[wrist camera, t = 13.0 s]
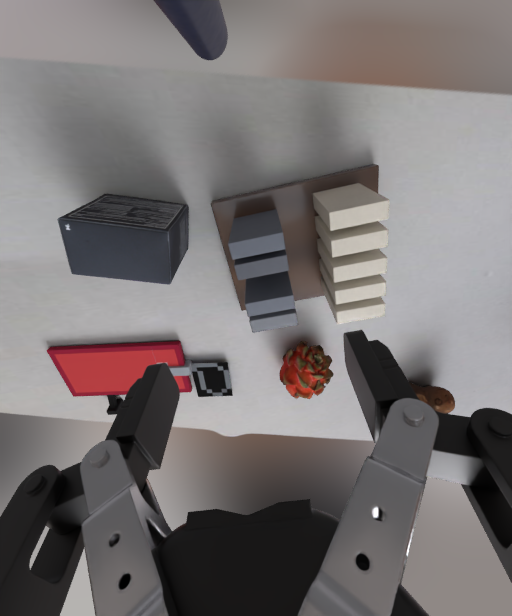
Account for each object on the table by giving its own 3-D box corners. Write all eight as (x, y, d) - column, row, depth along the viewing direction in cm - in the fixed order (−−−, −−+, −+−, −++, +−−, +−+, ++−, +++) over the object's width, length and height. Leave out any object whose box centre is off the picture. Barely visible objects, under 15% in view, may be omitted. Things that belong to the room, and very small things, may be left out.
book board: (212, 200, 36) (210, 203, 35) (374, 163, 34) (378, 165, 32) (242, 305, 44) (241, 310, 43) (372, 281, 42) (376, 286, 41)
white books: (312, 193, 34) (329, 212, 26) (359, 182, 33) (389, 199, 26) (321, 287, 41) (337, 324, 33) (360, 280, 40) (385, 316, 33)
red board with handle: (233, 398, 55) (224, 337, 48) (232, 410, 53) (222, 348, 45) (84, 403, 57) (51, 345, 49) (77, 415, 54) (41, 356, 46)
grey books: (233, 218, 36) (227, 243, 28) (276, 208, 35) (282, 231, 27) (252, 295, 42) (252, 333, 34) (290, 288, 41) (298, 325, 33)
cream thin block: (316, 238, 37) (332, 267, 29) (359, 229, 36) (387, 257, 29) (318, 251, 38) (334, 282, 30) (359, 243, 37) (386, 273, 30)
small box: (111, 242, 39) (68, 277, 30) (103, 192, 35) (52, 214, 26) (189, 251, 39) (170, 288, 31) (189, 203, 36) (168, 229, 27)
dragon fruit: (308, 321, 48) (302, 365, 56) (269, 344, 44) (268, 388, 52) (348, 352, 43) (335, 395, 51) (307, 381, 39) (300, 423, 47)
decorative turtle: (451, 368, 52) (481, 407, 46) (410, 415, 61) (429, 453, 54) (403, 363, 51) (427, 402, 44) (368, 412, 59) (383, 450, 53)
